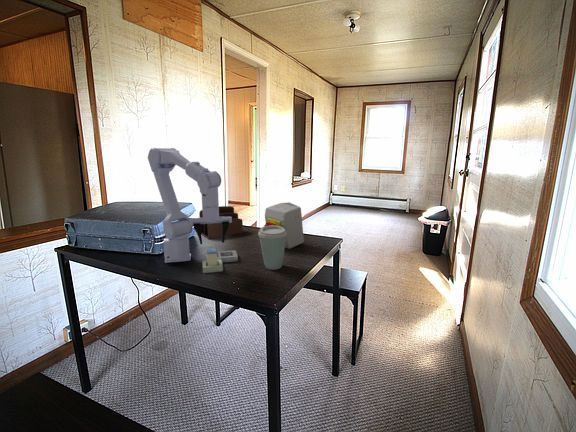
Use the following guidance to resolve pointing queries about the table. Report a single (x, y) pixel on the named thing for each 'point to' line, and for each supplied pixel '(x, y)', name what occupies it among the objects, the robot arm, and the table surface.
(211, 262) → the plug
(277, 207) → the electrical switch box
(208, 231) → the letter holder
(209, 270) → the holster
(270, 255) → the disposable coffee cup
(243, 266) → the table surface
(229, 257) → the panel
